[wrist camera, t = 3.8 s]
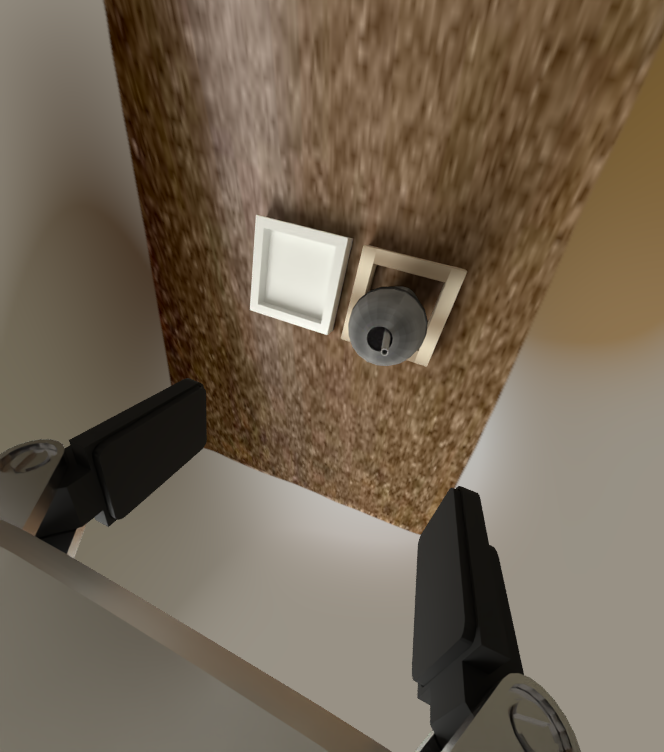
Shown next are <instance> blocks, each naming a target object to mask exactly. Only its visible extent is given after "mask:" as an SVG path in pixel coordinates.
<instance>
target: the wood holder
mask: <svg viewBox="0 0 664 752" xmlns="http://www.w3.org/2000/svg"><path fill="white" fill-rule="evenodd" d="M377 265H381V266H385V267H388V268H392V269H396V270H400V271H404V272H407V273H411V274H415V275H419V276H423V277H426V278H430V279H434V280H438V281H441V282H444V284H443V286H442V289H441V291H440V294H439V296H438V299H437V301H436V304H435V306H434V309H433V312H432V314H431V317H430V319H429V322H428V324H427V334H426V337H425V339H424V341H423V343H422V345H421V347H420V348H419V349H418V350H417V351H416V352H415V353H414V354H413V355H412V356H411V357H410V358H408V359H407V360H408V361H411V362H414V363H417V364H420V365H423V366H426V367H427V365H428V362H429V360H430V358H431V355H432V353H433V351H434V348H435V346H436V344H437V341H438V339H439V337H440V334H441V332H442V330H443V327H444V325H445V323H446V320H447V318H448V316H449V313H450V311H451V309H452V306H453V304H454V302H455V299H456V297H457V294H458V292H459V290H460V287H461V285H462V283H463V280H464V278H465V276H466V273H467V271H466V270H465V269H461V268H457V267H453V266H450V265H446V264H442V263H438V262H434V261H430V260H426V259H422V258H418V257H414V256H410V255H406V254H402V253H398V252H394V251H390V250H386V249H382V248H378V247H374V246H370V245H363V250H362V254H361V258H360V262H359V266H358V270H357V274H356V278H355V283H354V287H353V291H352V295H351V299H350V303H349V307H348V312H347V316H346V320H345V324H344V328H343V332H342V336H341V339H343V340H346V341H349V342H351V341H350V338H349V331H348V323H349V319H350V316H351V312H352V309H353V307H354V306H355V304H356V303H357V301H358V300H359V299H360V298H361V297H362V296H363V295H365V294H366V293H367V292H369V291H370V288H371V284H372V281H373V277H374V273H375V270H376V266H377Z"/></svg>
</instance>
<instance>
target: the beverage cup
mask: <svg viewBox="0 0 664 752" xmlns="http://www.w3.org/2000/svg"><path fill="white" fill-rule="evenodd" d="M427 324H428V321H427V317H426V313H425V309H424V308H423V306H422V305H421V303H420V302H419V300H418V299H417V297H416V295H415V294H414V292H413V291H412V290H410V289H409V288H406V287H403V286H396V287H379V288H376V289H374V290H371V291H369V292H367V293H366V294H365V295H363V296H362V297H361V298H360V299H359V300H358V301H357V303H356V304H355V306H354V307H353V309H352V312H351V316H350V319H349V323H348V331H349V338H350V341H351V344H352V346H353V348H354V349H355V351H356V352H357V353H358V355H359V356H361V357H362V358H363V359H365V360H366V361H367V362H370V363H373V364H375V365H382V366H390V365H395V364H399V363H401V362H403V361H405V360H407V359H408V358H410V357H411V356H412V355H413V354H414V353H415V352H416V351H417V350H418V349H419V348H420V347H421V345H422V343H423V341H424V339H425V337H426V334H427Z"/></svg>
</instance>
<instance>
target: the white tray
mask: <svg viewBox="0 0 664 752" xmlns="http://www.w3.org/2000/svg"><path fill="white" fill-rule="evenodd" d="M352 242H353V238H349V237H345V236H341V235H337V234H333V233H329V232H325V231H321V230H317V229H313V228H309V227H305V226H301V225H297V224H293V223H289V222H285V221H281V220H277V219H273V218H269V217H265V216H259V215H256V224H255V240H254V255H253V271H252V286H251V302H250V310H252V311H255V312H258V313H261V314H264V315H267V316H270V317H273V318H276V319H279V320H282V321H286V322H289V323H292V324H295V325H298V326H301V327H304V328H307V329H310V330H313V331H316V332H319V333H322V334H325V335H328V334H329V333H330V332H331V331H333V328H334V323H335V319H336V314H337V310H338V305H339V301H340V296H341V292H342V287H343V283H344V278H345V274H346V269H347V265H348V260H349V256H350V251H351V247H352Z"/></svg>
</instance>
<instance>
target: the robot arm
mask: <svg viewBox="0 0 664 752" xmlns="http://www.w3.org/2000/svg"><path fill="white" fill-rule="evenodd" d="M206 440H207V436H206V390H205V389H204V387H203V384H201V383H199V382H197V381H194V380H192V379H189V378H186V379H184V380H182V381H180V382H178V383H176V384H174V385H172V386H170V387H169V388H167V389H165V390H163V391H161V392H159V393H157V394H155V395H153V396H151V397H150V398H148V399H146V400H144V401H142V402H140V403H138V404H136V405H134V406H133V407H131V408H129V409H127V410H125V411H123V412H121V413H119V414H118V415H116V416H114V417H112V418H110V419H108V420H106V421H104V422H102V423H101V424H99V425H97V426H95V427H93V428H91V429H89V430H87V431H85V432H83V433H82V434H80V435H78V436H76V437H74V438H72V439H70V440H69V442H70V446H68V447H67V448H64V446H63V444H61V443H60V442H59V441H55V440H51V439H50V440H49V439H43V440H42V439H40V440H34V441H29V442H25V443H22V444H19V445H16V446H14V447H12V448H9V449H7V450H6V451H4V452H3V453H1V454H0V752H391V751H390V750H388V749H387V748H385V747H384V746H382V745H381V744H379V743H377V742H376V741H374V740H373V739H371V738H370V737H368V736H366V735H365V734H363V733H362V732H360V731H359V730H357V729H355V728H354V727H352V726H351V725H349V724H347V723H346V722H344V721H343V720H341V719H340V718H338V717H336V716H335V715H333V714H332V713H330V712H329V711H327V710H325V709H324V708H322V707H321V706H319V705H317V704H316V703H314V702H312V701H311V700H309V699H307V698H306V697H304V696H302V695H301V694H299V693H298V692H296V691H294V690H292V689H291V688H289V687H288V686H286V685H284V684H282V683H281V682H279V681H278V680H276V679H274V678H273V677H271V676H269V675H268V674H266V673H264V672H263V671H261V670H259V669H258V668H256V667H255V666H253V665H251V664H250V663H248V662H246V661H245V660H243V659H241V658H240V657H238V656H236V655H235V654H233V653H232V652H230V651H228V650H226V649H225V648H223V647H221V646H220V645H218V644H217V643H215V642H213V641H212V640H210V639H208V638H206V637H205V636H203V635H202V634H200V633H198V632H197V631H195V630H193V629H191V628H190V627H188V626H187V625H185V624H183V623H181V622H180V621H178V620H176V619H175V618H173V617H171V616H170V615H168V614H166V613H165V612H163V611H161V610H160V609H158V608H156V607H155V606H153V605H151V604H150V603H148V602H146V601H145V600H143V599H141V598H140V597H138V596H136V595H135V594H133V593H131V592H129V591H128V590H126V589H125V588H123V587H121V586H119V585H118V584H116V583H114V582H113V581H111V580H109V579H108V578H106V577H104V576H103V575H101V574H99V573H97V572H96V571H94V570H92V569H91V568H89V567H87V566H86V565H84V564H82V563H80V562H79V561H77V560H75V559H74V557H75V555H76V552H77V549H78V546H79V544H80V541H81V538H82V535H83V532H84V530H85V527H86V524H87V523H88V522H89V521H90V520H91V519H93V518H94V517H95V519H96V520H97V521H99V522H100V523H102V524H104V525H106V526H108V527H109V526H110V525H111V524H112V523H113V522H115V521H116V520H117V519H122V518H124V517H125V516H126V515H128V513H130V512H131V511H132V510H133V509H134V508H135V507H137V506H138V505H139V504H140V503H141V502H142V501H144V500H145V499H146V498H147V497H148V496H149V495H150V494H151V493H152V492H154V491H155V490H156V489H157V488H158V487H160V486H161V485H162V484H163V483H164V482H165V481H166V480H168V479H169V478H170V477H171V476H172V475H173V474H174V473H175V472H177V471H178V470H179V469H180V468H181V467H182V466H184V464H186V463H187V462H188V461H189V460H190V459H191V458H193V457H194V456H195V455H196V454H197V453H198V452H200V450H202V449H203V447H204V446H205V444H206ZM412 676H413V680H414V681H416V682H418V699H420V700H422V701H424V702H426V703H427V704H429V705H430V725H431V727H432V729H433V730H432V731H431V732H430V734H429V735H428V736H427V737H426V739H425V740H424V741H423V742H422V743H421V745H420V746H419V747H418V748H417V750H416V751H415V752H581V750H580V748H579V745H578V742H577V739H576V736H575V733H574V732H573V730H572V728H571V726H570V724H569V722H568V720H567V718H566V716H565V715H564V713H563V712H562V710H561V709H560V708H559V706H558V704H557V703H556V702H555V700H554V699H553V698H552V697H551V696H550V695H549V694H548V692H546V690H545V689H544V688H543V687H542V686H541V685H539V684H538V683H536V682H535V681H534V680H533V679H531V678H530V677H527V676H524V673H523V668H522V663H521V659H520V654H519V649H518V645H517V640H516V635H515V631H514V626H513V621H512V617H511V612H510V607H509V603H508V598H507V594H506V589H505V584H504V580H503V575H502V570H501V566H500V562H499V557H498V554H497V551H496V550H495V548H494V547H492V546H491V545H489V542H488V537H487V532H486V527H485V521H484V516H483V511H482V506H481V500H480V497H479V495H478V493H476V492H474V491H471V490H468V489H466V488H464V487H461V486H458V487H457V488H456V489H454V488H450V489H449V491H448V492H447V494H446V496H445V497H444V499H443V501H442V502H441V504H440V505H439V507H438V509H437V510H436V512H435V513H434V515H433V517H432V518H431V520H430V521H429V523H428V525H427V526H426V528H425V529H424V531H423V533H422V534H421V536H420V539H419V542H418V556H417V576H416V596H415V618H414V638H413V659H412Z"/></svg>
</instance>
